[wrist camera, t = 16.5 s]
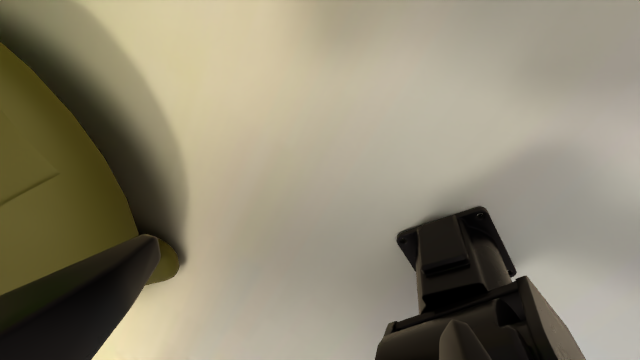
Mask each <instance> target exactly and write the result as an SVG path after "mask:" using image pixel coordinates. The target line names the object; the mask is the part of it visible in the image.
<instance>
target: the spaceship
mask: <svg viewBox="0 0 640 360" xmlns="http://www.w3.org/2000/svg"><path fill="white" fill-rule="evenodd" d="M137 236H139V233H138V230H137V227H136V225H135V222H134V219H133V216H132V213H131V210H130V207H129V205H128V202H127V199H126V197H125V195H124V193H123V191H122V190H121V188H120V186H119V184H118V182H117V180H116V178H115V177H114V175H113V173H112V171H111V169H110V167H109V165H108V164H107V162H106V160H105V158H104V157H103V155H102V154H101V153H100V151H99V150H98V149H97V147H96V146H95V144H94V143H93V142H92V140H91V139H90V137H89V136H88V135H87V133H86V132H85V131H84V129H83V128H82V126H81V125H80V124H79V122H78V121H77V120H76V118H75V117H74V115H73V114H72V113H71V112H70V111H69V110H68V109H67V108H66V106H65V105H64V104H63V103H62V102H61V101H60V100H59V99H58V98H57V97H56V96H55V94H54V93H53V92H52V91H51V90H50V89H49V88H48V87H47V86H46V85H45V83H44V82H43V81H42V80H41V79H40V78H39V77H38V76H37V75H36V74H35V73H34V71H33V70H32V69H31V68H30V67H28V66H27V65H26V64H25V63H24V62H23V61H22V60H20V59H19V58H18V57H17V56H16V55H15V54H14V53H12V52H11V51H10V50H9V49H8V48H7V47H6V46H5V45H3V44H2V43H1V42H0V295H3V294H5V293H7V292H10V291H12V290H14V289H17V288H19V287H21V286H23V285H26V284H28V283H30V282H33V281H35V280H37V279H40V278H42V277H44V276H47V275H49V274H51V273H54V272H56V271H58V270H61V269H63V268H65V267H67V266H70V265H72V264H74V263H77V262H79V261H81V260H84V259H86V258H88V257H91V256H93V255H95V254H98V253H100V252H102V251H104V250H107V249H109V248H111V247H114V246H116V245H118V244H121V243H123V242H125V241H128V240H130V239H132V238H135V237H137ZM157 239H158V242H159V248H160V254H161V257H160V261H159V263H158V265H157V267H156V268H155V270H154V271H153V273H152V275H151V276H150V278H149V279H148V281H147V283H146V284H145V285H149V284H153V283H157V282H161V281H165V280H168V279H170V278H172V277H174V276H175V274H176V273H177V271H178V269H179V261H178V256H177V254H176V252H175V251H174V249H173V248H172V247H171V246H170V245H169V244H168V243H166V242H164V241H163V240H161V239H159V238H157Z"/></svg>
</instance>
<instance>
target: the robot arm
mask: <svg viewBox="0 0 640 360" xmlns="http://www.w3.org/2000/svg"><path fill="white" fill-rule="evenodd" d="M479 213H483V215H481V216H477V214H479ZM401 239H406V240H401ZM397 243H398V245H399V246H400V248H401V250H402V251H403V253H404V254H405V256H406V257H407V259H408V261H409V262H410V264H411V265H412V267H413V268H414V270H415V271H416V277H417V291H418V305H419V315H417V316H414V317H411V318H408V319H405V320H402V321H400V322H397V321H394V322H392V323H389V324H388V326H387V328H386V331H385V334H384V337H383V339H382V340H381V342H380V343H379V345H378V348H377V352H376V357H375V360H586V359H585V357H584V355H583V354H582V352H581V350H580V348H579V347H578V345H577V343H576V342H575V340H574V338H573V336H572V335H571V333H570V331H569V329H568V328H567V326H566V325H565V324H564V323H563V321H562V320H561V319H560V317H559V316H558V315H557V314H556V312H555V311H554V310H553V309H552V307H551V306H550V305H549V304H548V302H547V301H546V300H545V298H544V297H543V296H542V295H541V293H540V292H539V291H538V290H537V288H536V287H535V286H534V285H533V283H532V282H531V281H530V279H529V278H528V277H527V276H523V277H520V278H517V279H516V281H515V282H512V281H511V279H510V277H513V276H515V275H516V269H515V267H514V265H513V263H512V261H511V259H510V257H509V255H508V253H507V251H506V249H505V247H504V244H503V242H502V240H501V238H500V236H499V234H498V232H497V230H496V228H495V226H494V224H493V222H492V220H491V218H490V215H489V213H488V211H487V210H486V209H485V208H484V207H476V208H473V209H470V210H467V211H464V212H461V213H458V214H455V215H452V216H448V217H445V218H442V219H439V220H436V221H433V222H430V223H427V224H424V225H421V226H419V227H417V228H414V229H411V230H408V231H405V232H402V233H400V234H398V235H397ZM160 257H161V254H160V248H159V242H158V239H157V238H156V237H155V236H151V235H148V234H142V235H139V236H137V237H135V238H132V239H130V240H128V241H125V242H123V243H121V244H118V245H116V246H114V247H111V248H109V249H107V250H104V251H102V252H100V253H98V254H95V255H93V256H91V257H88V258H86V259H84V260H81V261H79V262H77V263H74V264H72V265H70V266H67V267H65V268H63V269H61V270H58V271H56V272H54V273H51V274H49V275H47V276H44V277H42V278H40V279H37V280H35V281H33V282H30V283H28V284H26V285H23V286H21V287H19V288H17V289H14V290H12V291H10V292H7V293H5V294H3V295H0V360H91V359H92V358H93V357H94V355H95V354H96V353H97V351H98V350H99V349H100V348H101V346H102V345H103V344H104V342H105V341H106V340H107V338H108V337H109V336H110V334H111V333H112V332H113V330H114V329H115V328H116V327H117V325H118V324H119V323H120V321H121V320H122V319H123V317H124V316H125V315H126V313H127V312H128V311H129V309H130V308H131V306H132V305H133V303H134V302H135V300H136V299H137V297H138V296H139V294H140V292H141V291H142V289H143V288H144V286H145V284H146V283H147V281H148V279H149V278H150V276H151V275H152V273H153V271H154V270H155V268H156V267H157V265H158V263H159V261H160ZM507 270H509V271H507Z"/></svg>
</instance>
